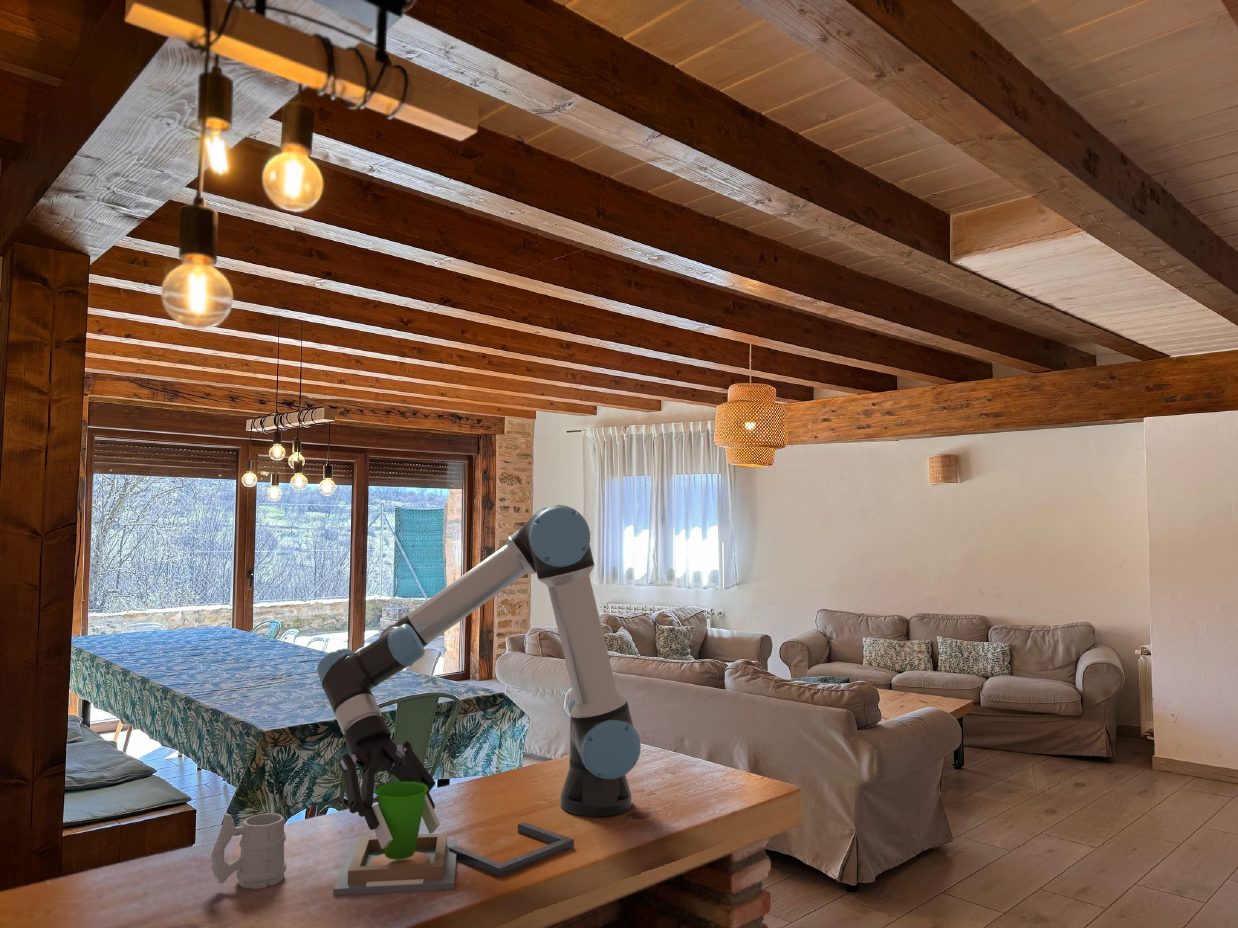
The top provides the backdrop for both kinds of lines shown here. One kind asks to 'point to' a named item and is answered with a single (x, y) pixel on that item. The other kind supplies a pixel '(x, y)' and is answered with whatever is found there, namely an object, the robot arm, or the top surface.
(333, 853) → the top surface
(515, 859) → the dark grey u frame
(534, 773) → the top surface
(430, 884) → the socket board
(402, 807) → the cup
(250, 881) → the mug
